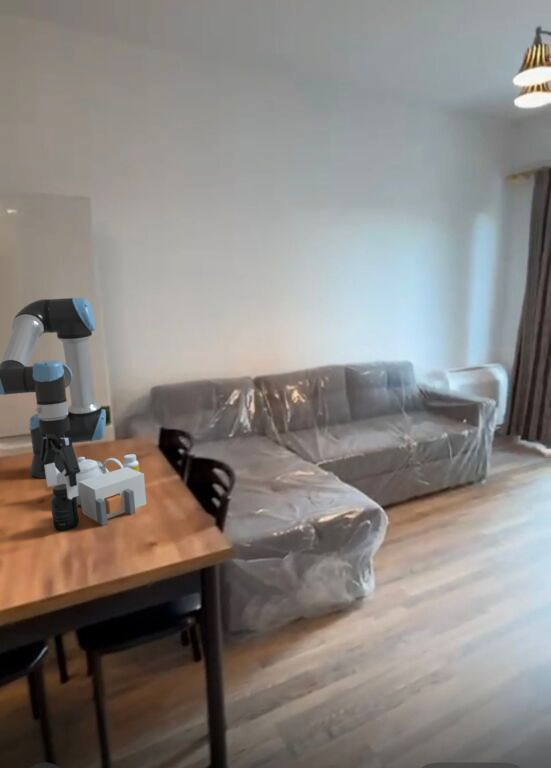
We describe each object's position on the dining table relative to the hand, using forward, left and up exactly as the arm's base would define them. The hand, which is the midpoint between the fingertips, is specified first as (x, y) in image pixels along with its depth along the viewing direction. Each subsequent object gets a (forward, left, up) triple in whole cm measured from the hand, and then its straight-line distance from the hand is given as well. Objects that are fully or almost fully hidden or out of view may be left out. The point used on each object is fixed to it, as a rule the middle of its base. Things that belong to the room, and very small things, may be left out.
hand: (62, 491), depth 136 cm
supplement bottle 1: (0, 0, -11) cm, 11 cm away
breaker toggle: (+3, +12, -9) cm, 15 cm away
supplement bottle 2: (-15, +30, -11) cm, 36 cm away
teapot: (-16, +14, -11) cm, 24 cm away
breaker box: (+1, +15, -11) cm, 19 cm away
